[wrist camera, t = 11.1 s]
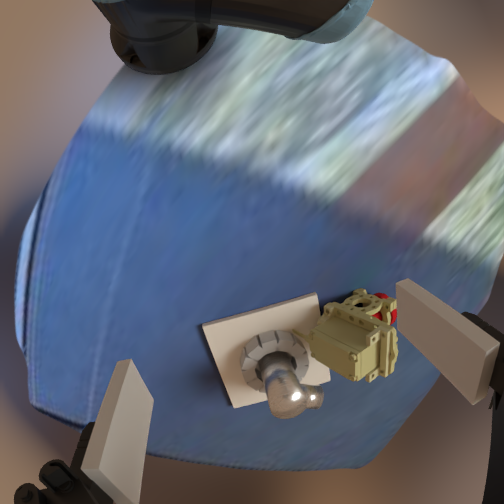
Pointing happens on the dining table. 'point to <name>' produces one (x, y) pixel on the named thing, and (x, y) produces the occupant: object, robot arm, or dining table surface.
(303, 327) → the plate
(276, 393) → the elbow
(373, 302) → the mechanical component
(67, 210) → the dining table surface
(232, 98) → the dining table surface
